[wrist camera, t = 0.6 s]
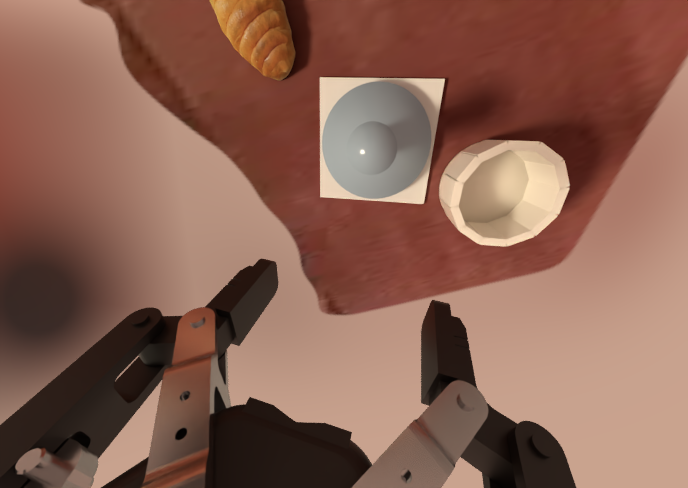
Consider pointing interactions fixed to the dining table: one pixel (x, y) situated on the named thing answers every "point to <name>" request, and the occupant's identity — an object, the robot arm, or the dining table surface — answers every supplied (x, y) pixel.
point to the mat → (428, 97)
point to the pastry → (258, 33)
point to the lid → (376, 140)
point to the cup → (503, 190)
